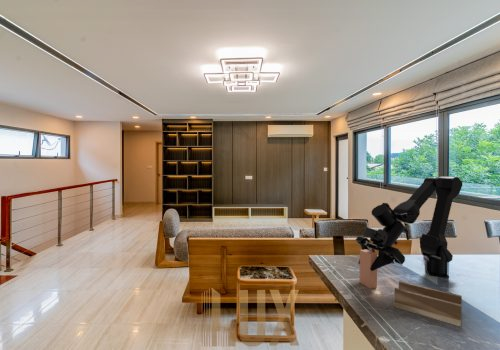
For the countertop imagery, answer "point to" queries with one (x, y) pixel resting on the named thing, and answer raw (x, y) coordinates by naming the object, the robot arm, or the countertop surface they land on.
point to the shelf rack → (429, 302)
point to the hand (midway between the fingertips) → (364, 267)
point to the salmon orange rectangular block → (367, 269)
